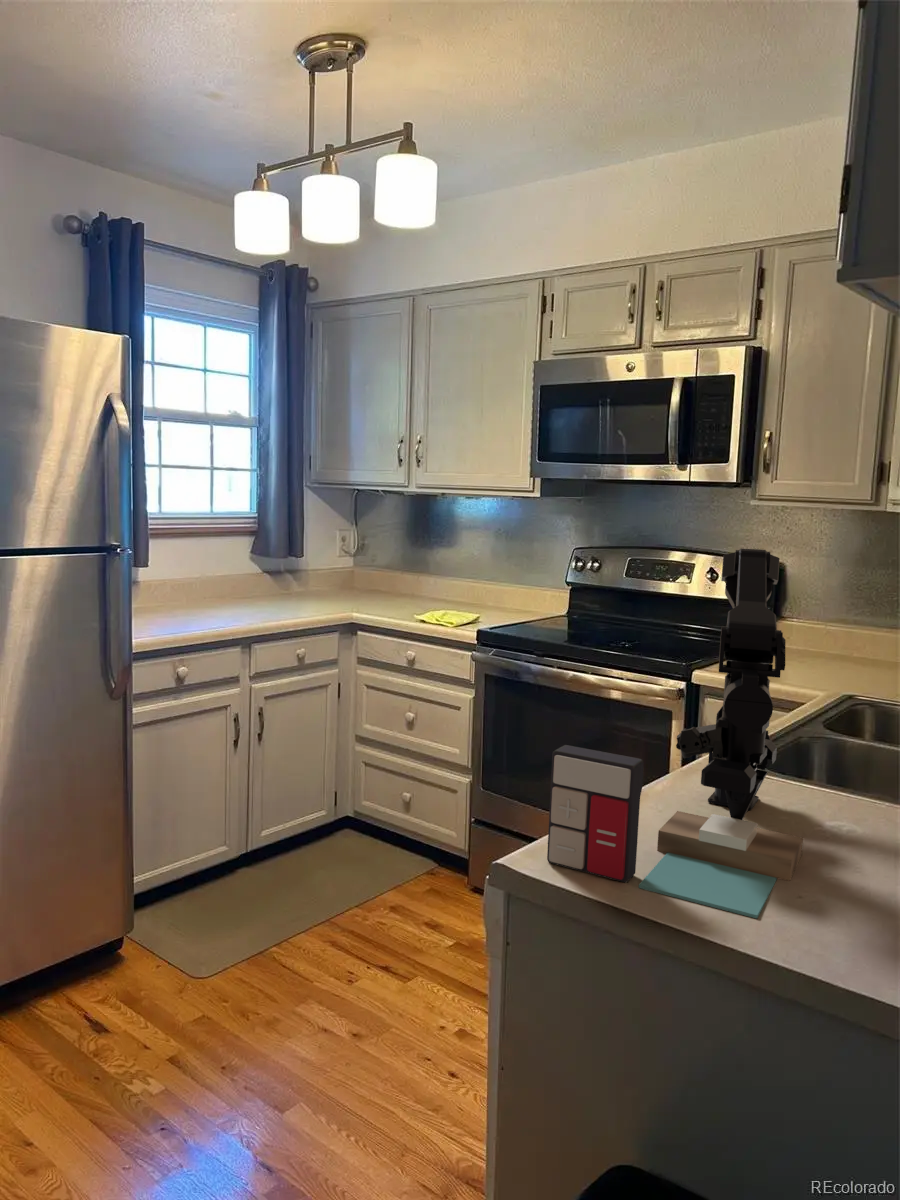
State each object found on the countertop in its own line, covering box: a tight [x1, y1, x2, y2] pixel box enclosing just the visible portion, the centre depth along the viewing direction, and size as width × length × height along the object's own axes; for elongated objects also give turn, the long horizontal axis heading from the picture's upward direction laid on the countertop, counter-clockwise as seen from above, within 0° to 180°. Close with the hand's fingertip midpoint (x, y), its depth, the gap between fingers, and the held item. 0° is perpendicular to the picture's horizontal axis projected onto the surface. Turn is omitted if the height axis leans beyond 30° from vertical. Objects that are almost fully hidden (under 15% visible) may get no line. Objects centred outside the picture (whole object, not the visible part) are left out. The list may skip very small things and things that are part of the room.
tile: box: [699, 813, 759, 851], centre depth 118 cm, size 7×6×2 cm
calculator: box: [546, 744, 645, 883], centre depth 113 cm, size 11×4×15 cm, turn 59°
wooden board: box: [656, 810, 804, 882], centre depth 120 cm, size 9×17×3 cm, turn 60°
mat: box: [638, 852, 778, 919], centre depth 111 cm, size 12×14×1 cm
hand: (736, 823), depth 122 cm, fingers closed
